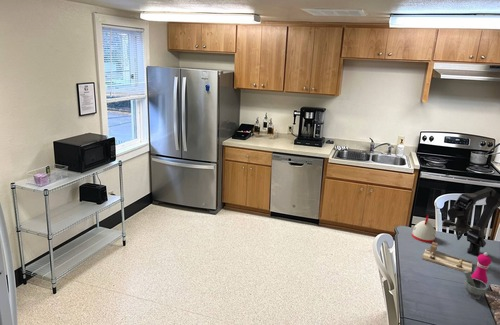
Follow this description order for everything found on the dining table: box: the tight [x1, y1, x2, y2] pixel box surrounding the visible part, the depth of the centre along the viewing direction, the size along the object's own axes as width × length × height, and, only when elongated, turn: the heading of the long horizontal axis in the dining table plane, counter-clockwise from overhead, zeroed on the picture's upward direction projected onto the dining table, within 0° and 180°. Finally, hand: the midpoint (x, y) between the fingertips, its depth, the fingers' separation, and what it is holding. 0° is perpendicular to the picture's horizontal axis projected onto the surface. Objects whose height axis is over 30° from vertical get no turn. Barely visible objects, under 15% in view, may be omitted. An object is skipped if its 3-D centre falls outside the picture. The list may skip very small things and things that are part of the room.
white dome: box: [411, 215, 437, 243], centre depth 238 cm, size 14×14×15 cm
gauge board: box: [421, 247, 473, 275], centre depth 212 cm, size 13×25×2 cm, turn 57°
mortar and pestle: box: [463, 271, 489, 300], centre depth 181 cm, size 11×9×12 cm
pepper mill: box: [471, 251, 492, 284], centre depth 187 cm, size 7×7×20 cm
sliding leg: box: [429, 241, 439, 257], centre depth 216 cm, size 11×3×5 cm, turn 147°
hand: (458, 239), depth 214 cm, fingers closed
